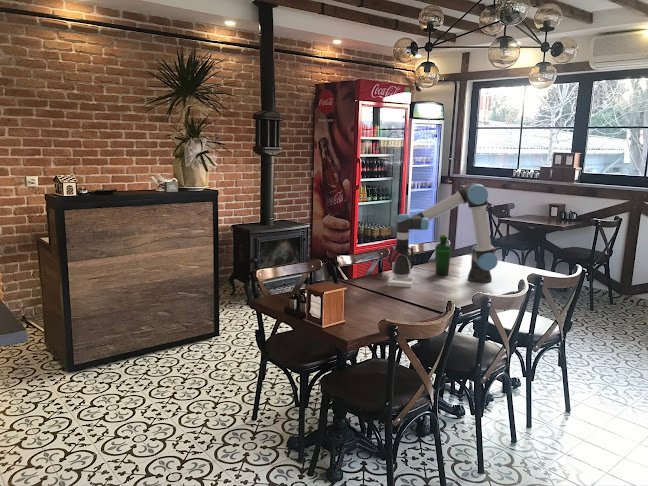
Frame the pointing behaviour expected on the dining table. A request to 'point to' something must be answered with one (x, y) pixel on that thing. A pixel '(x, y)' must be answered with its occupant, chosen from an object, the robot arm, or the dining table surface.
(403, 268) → the egg shaped speaker
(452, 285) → the dining table surface
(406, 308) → the dining table surface
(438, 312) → the dining table surface
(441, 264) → the bottle
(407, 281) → the tray
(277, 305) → the dining table surface
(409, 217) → the robot arm
